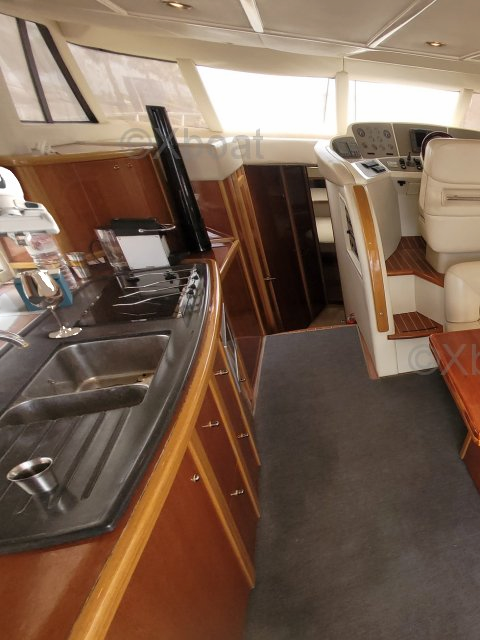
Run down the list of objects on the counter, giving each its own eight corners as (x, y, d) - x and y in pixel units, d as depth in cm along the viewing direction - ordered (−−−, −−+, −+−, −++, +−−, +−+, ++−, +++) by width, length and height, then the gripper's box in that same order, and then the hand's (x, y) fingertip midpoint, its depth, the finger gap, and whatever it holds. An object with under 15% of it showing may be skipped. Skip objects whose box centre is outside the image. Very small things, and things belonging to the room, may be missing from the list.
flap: (17, 274, 138) (16, 272, 138) (59, 269, 145) (59, 268, 144) (16, 279, 134) (15, 278, 134) (59, 274, 141) (59, 273, 140)
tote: (31, 300, 143) (16, 272, 138) (72, 294, 150) (59, 268, 144) (29, 311, 135) (13, 283, 130) (72, 305, 141) (58, 277, 136)
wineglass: (49, 341, 119) (14, 278, 109) (47, 332, 123) (12, 271, 113) (84, 333, 124) (53, 273, 114) (80, 325, 128) (50, 266, 118)
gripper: (-41, 206, 126) (-28, 243, 125) (48, 203, 138) (60, 237, 137) (-30, 218, 131) (-18, 254, 130) (54, 214, 143) (66, 247, 142)
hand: (23, 245), depth 134 cm, fingers closed
